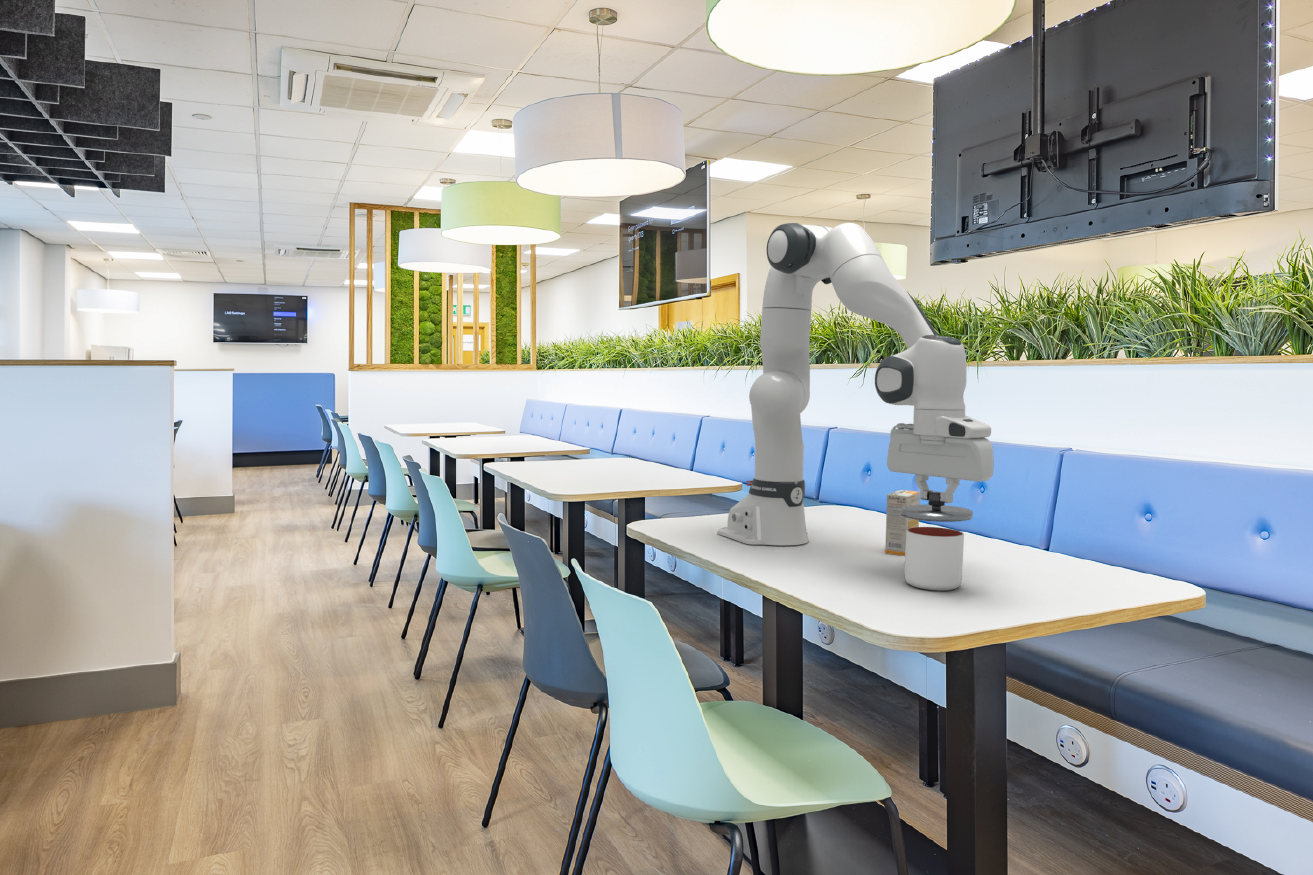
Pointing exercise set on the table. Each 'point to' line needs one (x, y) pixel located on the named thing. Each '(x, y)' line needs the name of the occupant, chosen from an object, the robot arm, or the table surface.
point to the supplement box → (899, 520)
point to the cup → (934, 558)
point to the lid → (936, 511)
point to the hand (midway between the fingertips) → (936, 501)
